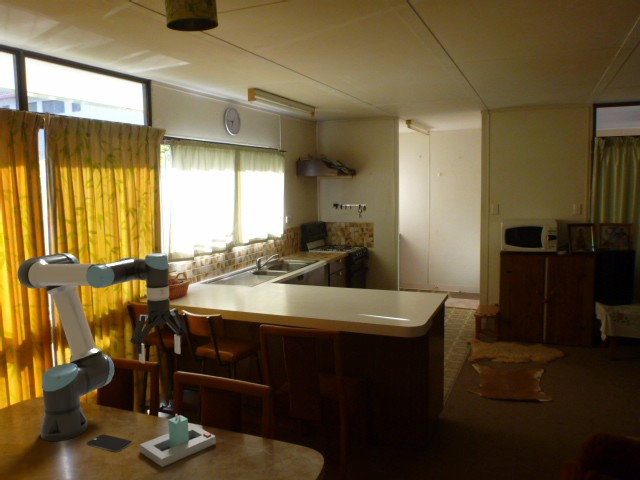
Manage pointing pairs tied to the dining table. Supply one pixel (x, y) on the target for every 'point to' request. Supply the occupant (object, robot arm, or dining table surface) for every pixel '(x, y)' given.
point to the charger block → (178, 430)
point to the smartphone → (109, 443)
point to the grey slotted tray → (165, 455)
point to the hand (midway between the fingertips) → (160, 357)
